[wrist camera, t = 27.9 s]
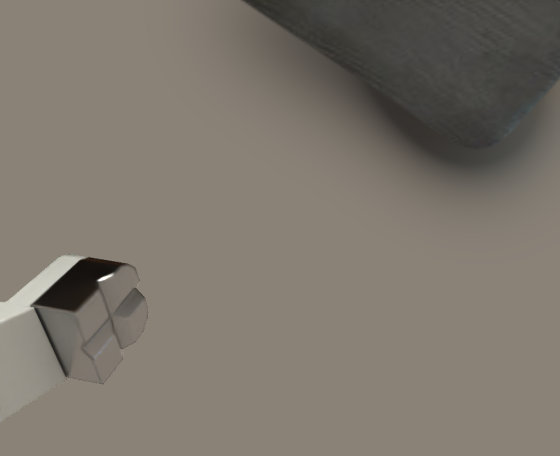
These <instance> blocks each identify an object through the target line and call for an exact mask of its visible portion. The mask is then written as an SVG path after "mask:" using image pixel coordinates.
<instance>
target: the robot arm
mask: <svg viewBox="0 0 560 456" xmlns="http://www.w3.org/2000/svg"><path fill="white" fill-rule="evenodd" d="M139 281H140V279H139V277H138V274H137V271H136V268H135V267H133V266H131V265H130V264H127V263H121V262H115V261H109V260H103V259H97V258H91V257H88V258H87V257H82V256H76V255H70V254H69V255H64V256H60V257H59V258H58V259H57V260H55V261H54V262H53V263H52V264H51V265H50V266H48V267H47V268H46V269H45V270H44V271H43V272H41V273H40V274H39V275H38V276H37V277H35V278H34V279H33V280H32V281H31V282H30V283H29V284H27V285H26V286H25V287H24V288H22V289H21V290H20V291H19V292H18V293H17V294H15V295H14V296H13V297H12V298H11V299H10V300H8V301H7V302H0V423H1V422H2V421H4V420H5V419H7V418H8V417H10V416H12V415H13V414H15V413H16V412H18V411H19V410H21V409H22V408H24V407H25V406H27V405H28V404H30V403H31V402H33V401H35V400H36V399H38V398H39V397H41V396H42V395H44V394H45V393H47V392H48V391H50V390H51V389H53V388H54V387H56V386H57V385H59V384H60V383H62V382H64V381H65V380H66V379H67V378H66V377H68V378H73V379H79V380H83V381H89V382H94V383H99V384H104V383H105V382H106V380H107V379H108V378H109V376H110V375H111V374H112V373H113V371H114V370H115V369H116V367H117V366H118V365H119V363H120V362H121V361H122V359H123V348H126V347H128V346H129V345H131V344H133V343H135V342H136V341H137V339H138V338H139V337H140V335H141V334H142V332H143V330H144V327H145V324H146V321H147V318H148V317H147V316H148V309H147V308H148V307H147V303H146V300H145V297H144V296H143V295H142V294H141V293H140V292H139V291H138V290H137V289H136V287H137V285H138V283H139Z"/></svg>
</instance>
